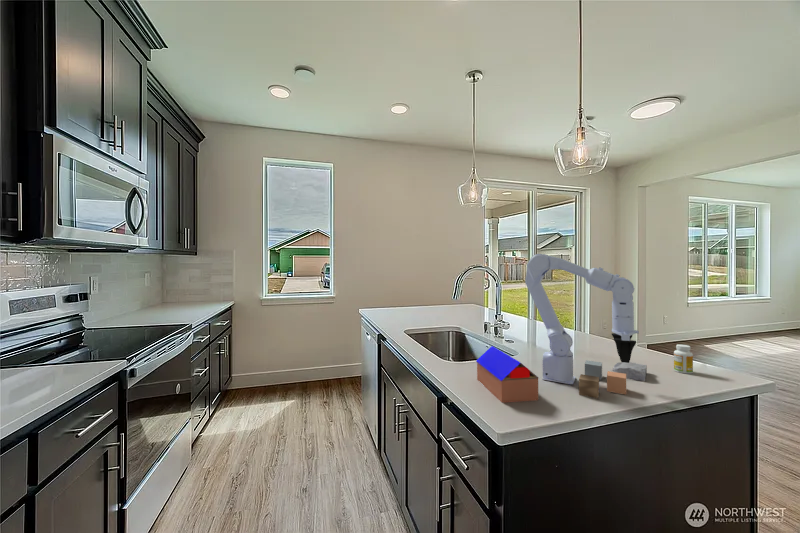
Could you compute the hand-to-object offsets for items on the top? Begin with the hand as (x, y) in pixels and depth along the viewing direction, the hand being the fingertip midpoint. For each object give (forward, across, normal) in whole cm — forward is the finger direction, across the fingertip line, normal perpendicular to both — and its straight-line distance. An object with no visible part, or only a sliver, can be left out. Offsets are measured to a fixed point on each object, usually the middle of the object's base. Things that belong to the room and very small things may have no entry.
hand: (623, 359), depth 105 cm
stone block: (+10, +18, -3) cm, 21 cm away
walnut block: (+10, -9, +10) cm, 16 cm away
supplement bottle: (+10, +31, -21) cm, 38 cm away
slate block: (+10, +9, +8) cm, 16 cm away
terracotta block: (+10, -1, +2) cm, 10 cm away
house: (+10, -17, +33) cm, 38 cm away
